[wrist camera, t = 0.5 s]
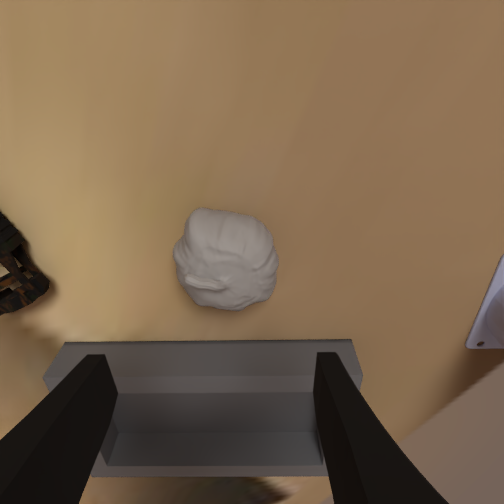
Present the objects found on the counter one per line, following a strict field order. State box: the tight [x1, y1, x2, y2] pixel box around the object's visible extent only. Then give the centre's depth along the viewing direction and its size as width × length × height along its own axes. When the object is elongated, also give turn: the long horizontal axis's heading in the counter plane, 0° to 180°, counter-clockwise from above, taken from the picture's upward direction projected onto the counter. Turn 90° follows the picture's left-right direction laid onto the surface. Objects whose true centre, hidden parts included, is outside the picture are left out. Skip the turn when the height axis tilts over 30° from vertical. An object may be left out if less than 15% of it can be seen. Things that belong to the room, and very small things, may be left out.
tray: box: [43, 339, 363, 477], centre depth 26 cm, size 20×12×3 cm, turn 91°
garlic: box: [173, 208, 279, 311], centre depth 18 cm, size 6×5×5 cm
